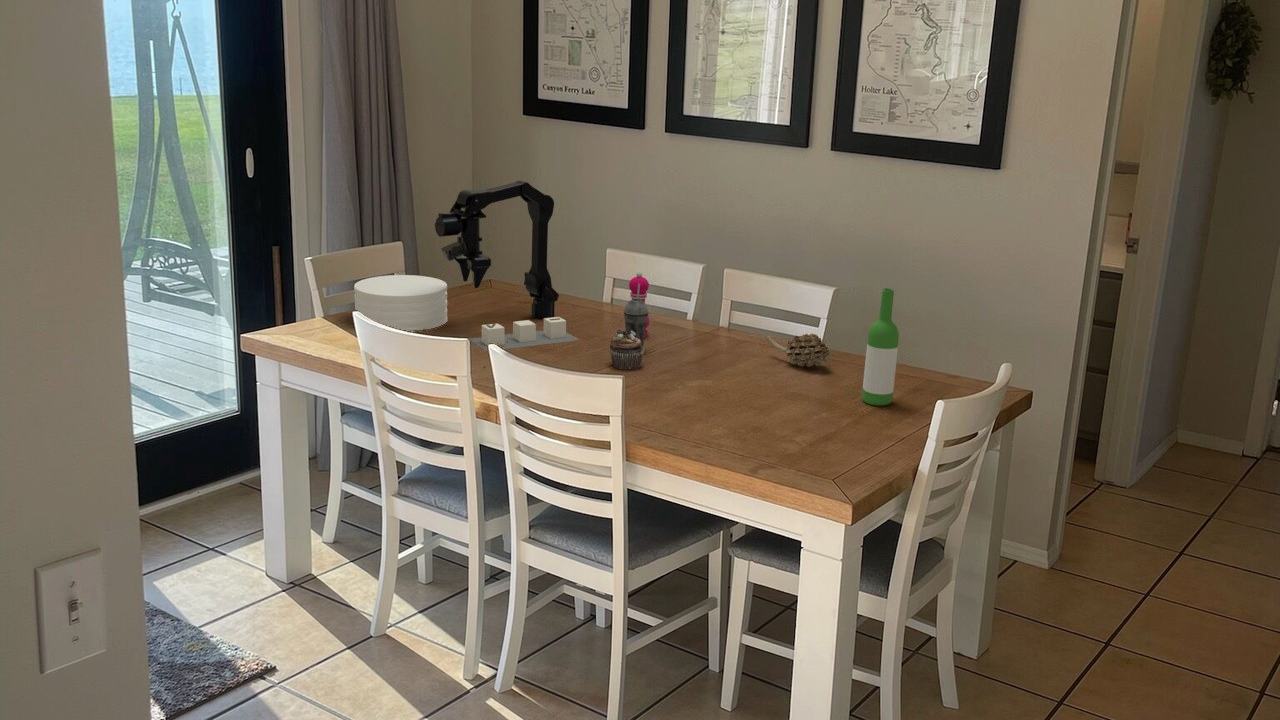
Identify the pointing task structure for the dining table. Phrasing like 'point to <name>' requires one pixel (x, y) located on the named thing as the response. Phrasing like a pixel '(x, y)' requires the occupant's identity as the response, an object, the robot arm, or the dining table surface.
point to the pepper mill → (642, 291)
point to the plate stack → (403, 301)
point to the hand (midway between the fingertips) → (470, 284)
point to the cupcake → (626, 350)
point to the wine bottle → (881, 355)
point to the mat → (514, 343)
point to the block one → (554, 327)
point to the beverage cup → (636, 317)
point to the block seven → (493, 334)
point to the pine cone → (805, 350)
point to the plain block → (524, 331)
